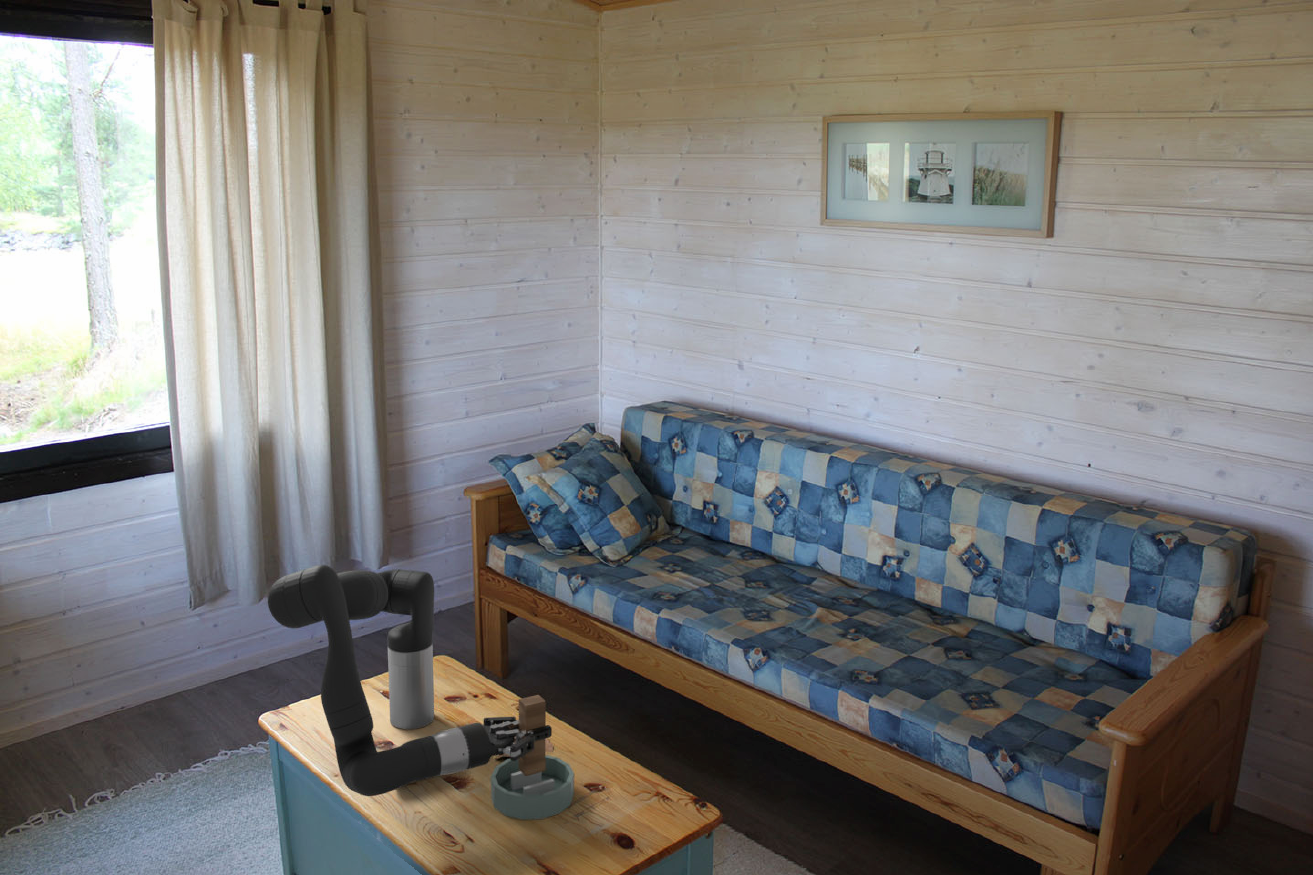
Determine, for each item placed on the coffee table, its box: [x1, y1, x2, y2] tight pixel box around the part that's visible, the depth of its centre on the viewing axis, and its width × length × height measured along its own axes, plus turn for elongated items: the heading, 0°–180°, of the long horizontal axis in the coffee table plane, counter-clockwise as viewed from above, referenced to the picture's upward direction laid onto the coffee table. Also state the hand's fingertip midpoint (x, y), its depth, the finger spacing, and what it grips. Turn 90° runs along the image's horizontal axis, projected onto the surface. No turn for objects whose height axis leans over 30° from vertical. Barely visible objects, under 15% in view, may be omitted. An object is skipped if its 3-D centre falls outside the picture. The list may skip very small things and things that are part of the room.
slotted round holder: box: [490, 754, 575, 821], centre depth 202 cm, size 15×15×4 cm
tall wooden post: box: [518, 694, 547, 776], centre depth 199 cm, size 3×4×14 cm
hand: (546, 726), depth 201 cm, fingers closed on tall wooden post, 3 cm apart
